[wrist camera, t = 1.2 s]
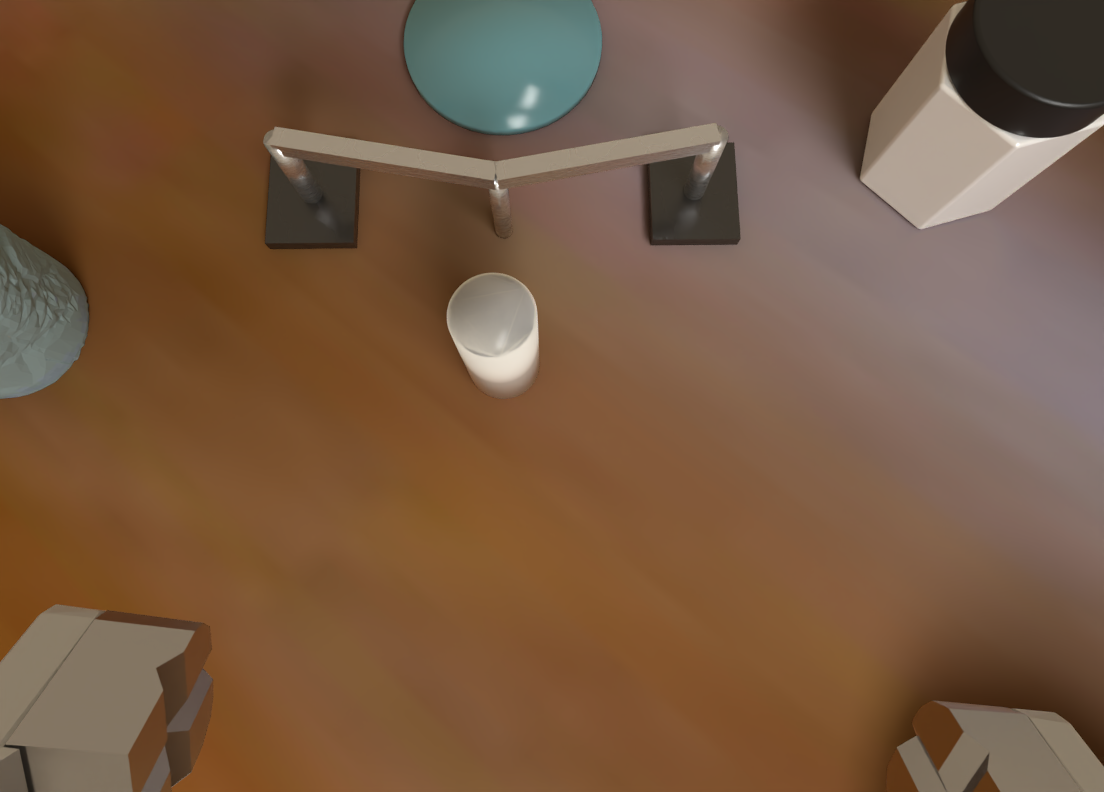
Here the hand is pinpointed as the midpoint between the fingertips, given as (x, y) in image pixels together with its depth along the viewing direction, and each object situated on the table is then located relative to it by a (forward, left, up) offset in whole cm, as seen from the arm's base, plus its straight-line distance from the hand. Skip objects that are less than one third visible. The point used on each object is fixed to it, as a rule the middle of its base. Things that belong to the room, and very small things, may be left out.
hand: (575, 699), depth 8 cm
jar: (-31, -12, -32) cm, 46 cm away
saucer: (-11, -30, -31) cm, 45 cm away
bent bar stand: (-7, -21, -31) cm, 38 cm away
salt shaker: (-3, -12, -31) cm, 34 cm away
